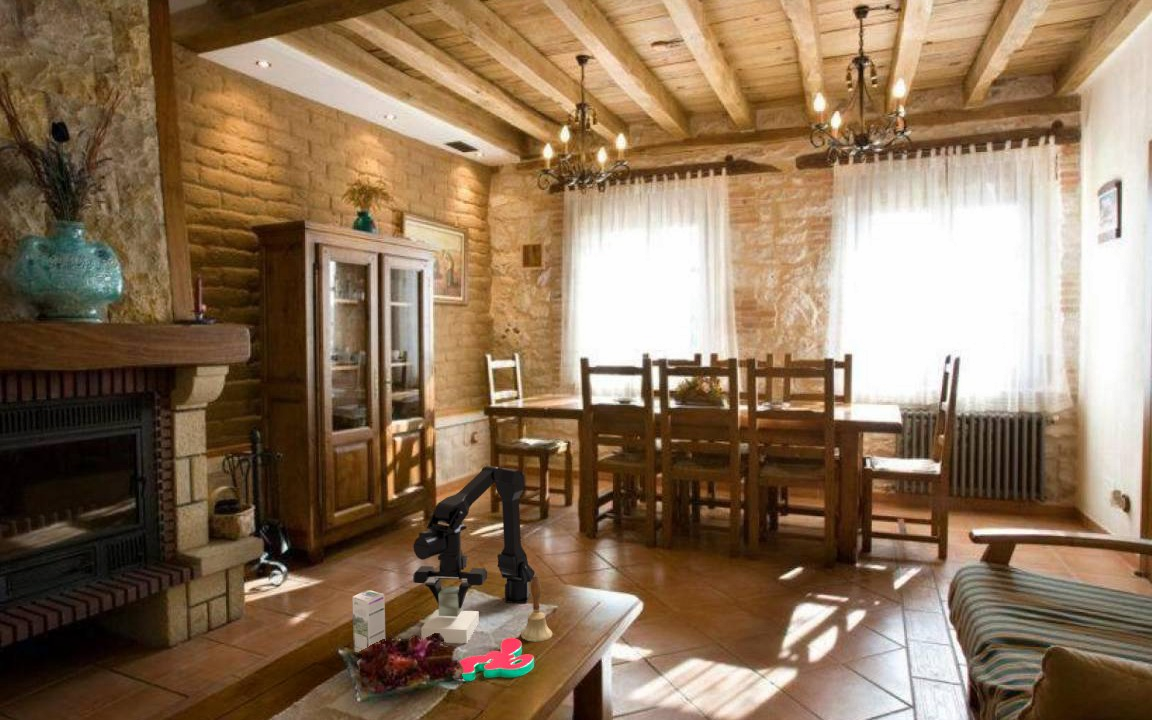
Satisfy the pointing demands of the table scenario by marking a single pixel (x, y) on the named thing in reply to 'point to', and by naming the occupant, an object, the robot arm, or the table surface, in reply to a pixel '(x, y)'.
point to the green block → (449, 602)
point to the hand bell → (536, 618)
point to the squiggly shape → (499, 662)
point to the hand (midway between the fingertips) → (450, 607)
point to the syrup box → (368, 619)
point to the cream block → (452, 626)
